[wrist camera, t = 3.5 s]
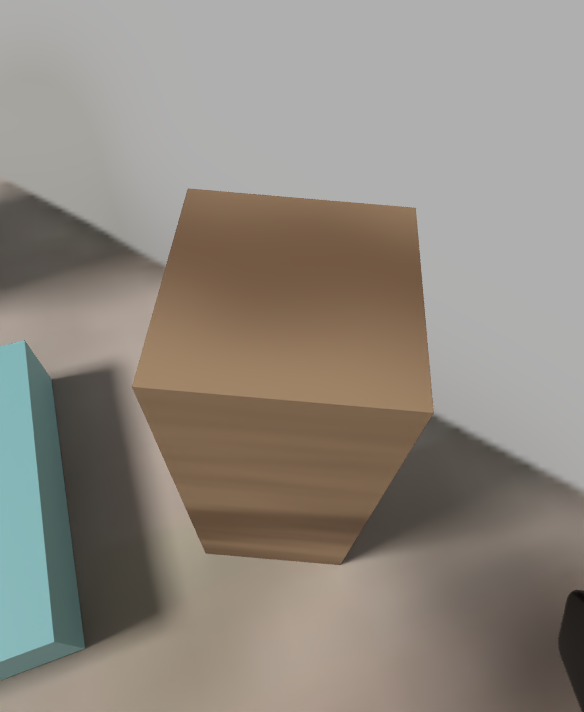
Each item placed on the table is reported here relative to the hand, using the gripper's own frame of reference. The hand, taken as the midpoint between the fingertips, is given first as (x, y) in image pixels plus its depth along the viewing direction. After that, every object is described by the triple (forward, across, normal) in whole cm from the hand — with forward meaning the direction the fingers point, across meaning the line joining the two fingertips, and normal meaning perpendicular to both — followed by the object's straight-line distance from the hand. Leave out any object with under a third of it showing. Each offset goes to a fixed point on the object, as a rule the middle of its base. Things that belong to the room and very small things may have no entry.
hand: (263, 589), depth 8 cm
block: (+12, 0, +5) cm, 13 cm away
